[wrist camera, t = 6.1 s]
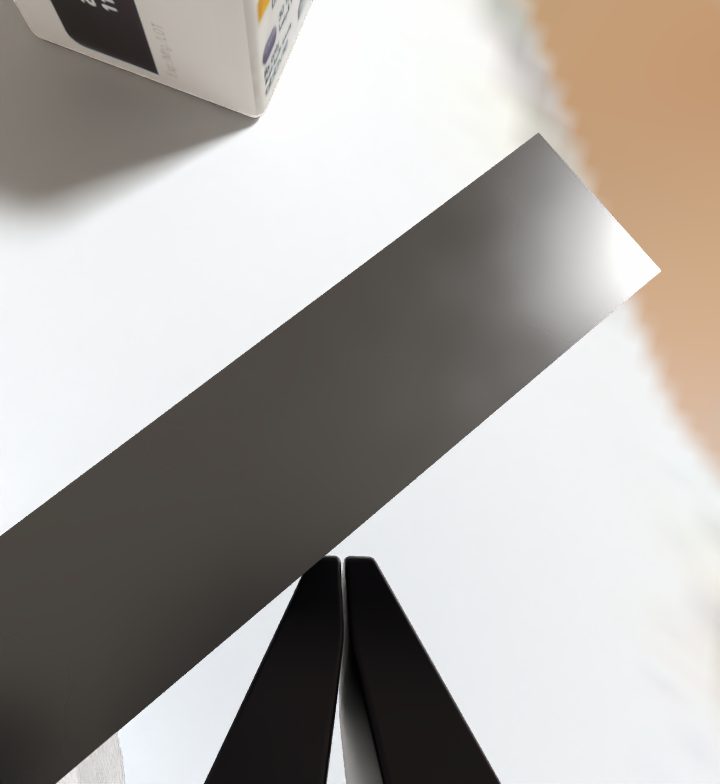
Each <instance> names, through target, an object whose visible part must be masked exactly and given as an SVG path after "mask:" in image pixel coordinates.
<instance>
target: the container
mask: <svg viewBox="0 0 720 784" xmlns="http://www.w3.org/2000/svg"><path fill="white" fill-rule="evenodd" d="M14 2H15V4H16V6H17V7H18V9H19V11H20V13H21V14H22V16H23V18H24V19H25V21H26V23H27V25H28V26H29V28H30V30H31V31H32V32H33V33H34V34H35V35H36V36H38V37H39V38H41V39H44V40H47V41H49V42H52V43H55V44H57V45H60V46H63V47H65V48H68V49H71V50H73V51H76V52H79V53H81V54H84V55H87V56H89V57H92V58H95V59H97V60H100V61H103V62H105V63H108V64H111V65H113V66H116V67H119V68H121V69H124V70H127V71H129V72H132V73H135V74H137V75H140V76H143V77H145V78H148V79H151V80H153V81H156V82H159V83H161V84H164V85H167V86H169V87H172V88H175V89H177V90H180V91H183V92H185V93H188V94H191V95H193V96H196V97H199V98H201V99H204V100H207V101H209V102H212V103H215V104H217V105H220V106H223V107H225V108H228V109H231V110H233V111H236V112H239V113H241V114H244V115H247V116H249V117H255V118H257V117H260V116H262V115H263V114H264V112H265V111H266V109H267V106H268V104H269V102H270V99H271V97H272V95H273V92H274V90H275V88H276V85H277V83H278V81H279V78H280V76H281V74H282V71H283V69H284V67H285V64H286V62H287V60H288V58H289V55H290V53H291V51H292V48H293V46H294V44H295V41H296V39H297V37H298V34H299V32H300V30H301V27H302V25H303V23H304V20H305V18H306V16H307V13H308V11H309V9H310V6H311V4H312V2H313V0H14Z"/></svg>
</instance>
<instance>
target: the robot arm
mask: <svg viewBox="0 0 720 784" xmlns="http://www.w3.org/2000/svg"><path fill="white" fill-rule="evenodd" d="M338 687H339V717H340V729H341V740H342V749H343V758H344V767H345V776H346V784H501V783H500V781H499V779H498V777H497V776H496V774H495V772H494V770H493V769H492V767H491V765H490V763H489V761H488V760H487V758H486V756H485V754H484V753H483V751H482V749H481V747H480V745H479V744H478V742H477V740H476V738H475V737H474V735H473V733H472V731H471V729H470V728H469V726H468V724H467V722H466V721H465V719H464V717H463V715H462V713H461V712H460V710H459V708H458V706H457V705H456V703H455V701H454V699H453V698H452V696H451V694H450V692H449V690H448V689H447V687H446V685H445V683H444V682H443V680H442V678H441V676H440V674H439V673H438V671H437V669H436V667H435V666H434V664H433V662H432V660H431V658H430V657H429V655H428V653H427V651H426V650H425V648H424V646H423V644H422V642H421V641H420V639H419V637H418V635H417V634H416V632H415V630H414V628H413V626H412V625H411V623H410V621H409V619H408V618H407V616H406V614H405V612H404V610H403V609H402V607H401V605H400V603H399V602H398V600H397V598H396V596H395V594H394V593H393V591H392V589H391V587H390V586H389V584H388V582H387V580H386V578H385V577H384V575H383V573H382V571H381V570H380V568H379V566H378V564H377V563H376V561H375V560H374V559H373V558H372V557H365V556H348V557H346V558H345V559H344V563H343V571H342V577H341V561H340V559H339V557H337V556H324V557H323V558H322V559H320V560H319V561H318V562H317V563H316V564H314V565H313V566H312V567H311V568H310V569H309V570H307V571H306V572H305V573H304V574H303V575H302V576H301V579H300V581H299V583H298V585H297V587H296V589H295V591H294V594H293V596H292V598H291V600H290V602H289V604H288V606H287V608H286V611H285V613H284V615H283V617H282V619H281V621H280V623H279V625H278V628H277V630H276V632H275V634H274V636H273V638H272V640H271V642H270V645H269V647H268V649H267V651H266V653H265V655H264V657H263V659H262V662H261V664H260V666H259V668H258V670H257V672H256V674H255V676H254V679H253V681H252V683H251V685H250V687H249V689H248V691H247V693H246V696H245V698H244V700H243V702H242V704H241V706H240V708H239V710H238V713H237V715H236V717H235V719H234V721H233V723H232V725H231V727H230V730H229V732H228V734H227V736H226V738H225V740H224V742H223V744H222V747H221V749H220V751H219V753H218V755H217V757H216V759H215V761H214V764H213V766H212V768H211V770H210V772H209V774H208V776H207V778H206V781H205V783H204V784H327V777H328V769H329V761H330V753H331V745H332V737H333V729H334V720H335V712H336V704H337V695H338Z"/></svg>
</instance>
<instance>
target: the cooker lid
mask: <svg viewBox="0 0 720 784" xmlns="http://www.w3.org/2000/svg"><path fill="white" fill-rule="evenodd" d="M660 271H661V270H660V269H659V268H658V267H657V266H656V265H655V263H654V262H653V261H652V260H651V259H650V258H649V257H648V256H647V254H646V253H645V252H644V251H643V250H642V249H641V248H640V247H639V245H638V244H637V243H636V242H635V241H634V240H633V239H632V237H631V236H630V235H629V234H628V233H627V232H626V231H625V230H624V229H623V228H622V226H621V225H620V224H619V223H618V222H617V221H616V220H615V218H614V217H613V216H612V215H611V214H610V213H609V212H608V210H607V209H606V208H605V207H604V206H603V205H602V204H601V202H600V201H599V200H598V199H597V198H596V197H595V196H594V195H593V193H592V192H591V191H590V190H589V189H588V188H587V187H586V186H585V184H584V183H583V182H582V181H581V180H580V179H579V178H578V177H577V175H576V174H575V173H574V172H573V171H572V170H571V169H570V168H569V166H568V165H567V164H566V163H565V162H564V161H563V160H562V158H561V157H560V156H559V155H558V154H557V153H556V152H555V151H554V149H553V148H552V147H551V146H550V145H549V144H548V143H547V142H546V140H545V139H544V138H543V137H542V136H541V135H540V134H539V133H538V134H536V135H535V136H534V137H532V138H531V139H530V140H528V141H527V142H526V143H524V144H523V145H522V146H520V147H519V148H518V149H516V150H515V151H514V152H512V153H511V154H510V155H508V156H507V157H506V158H504V159H503V160H502V161H500V162H499V163H498V164H496V165H495V166H494V167H492V168H491V169H490V170H488V171H487V172H486V173H484V174H483V175H482V176H480V177H479V178H477V179H476V180H475V181H473V182H472V183H471V184H469V185H468V186H467V187H465V188H464V189H463V190H461V191H460V192H459V193H457V194H456V195H455V196H453V197H452V198H451V199H449V200H448V201H447V202H445V203H444V204H443V205H441V206H440V207H439V208H437V209H436V210H435V211H433V212H432V213H431V214H429V215H428V216H427V217H425V218H424V219H423V220H421V221H420V222H419V223H417V224H416V225H415V226H413V227H412V228H411V229H409V230H408V231H407V232H405V233H404V234H403V235H401V236H400V237H399V238H397V239H396V240H395V241H393V242H392V243H391V244H389V245H388V246H387V247H385V248H384V249H383V250H381V251H380V252H379V253H377V254H376V255H375V256H373V257H372V258H371V259H369V260H368V261H367V262H365V263H364V264H363V265H361V266H360V267H359V268H357V269H356V270H355V271H353V272H352V273H351V274H349V275H348V276H347V277H345V278H344V279H343V280H341V281H340V282H339V283H337V284H336V285H335V286H333V287H332V288H331V289H329V290H328V291H327V292H325V293H324V294H323V295H321V296H320V297H319V298H317V299H316V300H315V301H313V302H312V303H311V304H309V305H308V306H307V307H305V308H304V309H303V310H301V311H300V312H299V313H297V314H296V315H295V316H293V317H292V318H291V319H289V320H288V321H287V322H285V323H284V324H283V325H281V326H280V327H279V328H277V329H276V330H275V331H273V332H272V333H271V334H269V335H268V336H267V337H265V338H264V339H263V340H261V341H260V342H259V343H257V344H256V345H255V346H253V347H252V348H251V349H249V350H248V351H247V352H245V353H244V354H243V355H241V356H240V357H239V358H237V359H236V360H235V361H233V362H232V363H231V364H229V365H228V366H227V367H225V368H224V369H223V370H221V371H220V372H219V373H217V374H216V375H215V376H213V377H212V378H211V379H209V380H208V381H207V382H205V383H204V384H203V385H201V386H200V387H199V388H197V389H196V390H195V391H193V392H192V393H191V394H189V395H188V396H187V397H185V398H184V399H183V400H181V401H180V402H179V403H177V404H176V405H175V406H173V407H172V408H171V409H169V410H168V411H167V412H165V413H164V414H163V415H161V416H160V417H159V418H157V419H156V420H155V421H153V422H152V423H151V424H149V425H148V426H147V427H145V428H144V429H143V430H141V431H140V432H139V433H137V434H136V435H135V436H133V437H132V438H131V439H129V440H128V441H127V442H125V443H124V444H122V445H121V446H120V447H118V448H117V449H116V450H114V451H113V452H112V453H110V454H109V455H108V456H106V457H105V458H104V459H102V460H101V461H100V462H98V463H97V464H96V465H94V466H93V467H92V468H90V469H89V470H88V471H86V472H85V473H84V474H82V475H81V476H80V477H78V478H77V479H76V480H74V481H73V482H72V483H70V484H69V485H68V486H66V487H65V488H64V489H62V490H61V491H60V492H58V493H57V494H56V495H54V496H53V497H52V498H50V499H49V500H48V501H46V502H45V503H44V504H42V505H41V506H40V507H38V508H37V509H36V510H34V511H33V512H32V513H30V514H29V515H28V516H26V517H25V518H24V519H22V520H21V521H20V522H18V523H17V524H16V525H14V526H13V527H12V528H10V529H9V530H8V531H6V532H5V533H4V534H2V535H1V536H0V784H56V783H57V782H58V781H60V780H61V779H62V778H63V777H64V776H66V775H67V774H68V773H69V772H70V771H71V770H73V769H74V768H75V767H76V766H77V765H79V764H80V763H81V762H82V761H83V760H84V759H86V758H87V757H88V756H89V755H90V754H91V753H93V752H94V751H95V750H96V749H97V748H99V747H100V746H101V745H102V744H103V743H104V742H106V741H107V740H108V739H109V738H110V737H112V736H113V735H114V734H115V733H116V732H117V731H119V730H120V729H121V728H122V727H123V726H125V725H126V724H127V723H128V722H129V721H130V720H132V719H133V718H134V717H135V716H136V715H137V714H139V713H140V712H141V711H142V710H143V709H145V708H146V707H147V706H148V705H149V704H150V703H152V702H153V701H154V700H155V699H156V698H158V697H159V696H160V695H161V694H162V693H163V692H165V691H166V690H167V689H168V688H169V687H171V686H172V685H173V684H174V683H175V682H176V681H178V680H179V679H180V678H181V677H182V676H184V675H185V674H186V673H187V672H188V671H189V670H191V669H192V668H193V667H194V666H195V665H196V664H198V663H199V662H200V661H201V660H202V659H204V658H205V657H206V656H207V655H208V654H209V653H211V652H212V651H213V650H214V649H215V648H217V647H218V646H219V645H220V644H221V643H222V642H224V641H225V640H226V639H227V638H228V637H230V636H231V635H232V634H233V633H234V632H235V631H237V630H238V629H239V628H240V627H241V626H242V625H244V624H245V623H246V622H247V621H248V620H250V619H251V618H252V617H253V616H254V615H255V614H257V613H258V612H259V611H260V610H261V609H263V608H264V607H265V606H266V605H267V604H268V603H270V602H271V601H272V600H273V599H274V598H276V597H277V596H278V595H279V594H280V593H281V592H283V591H284V590H285V589H286V588H287V587H288V586H290V585H291V584H292V583H293V582H294V581H296V580H297V579H298V578H299V577H300V576H301V575H303V574H304V573H305V572H306V571H307V570H309V569H310V568H311V567H312V566H313V565H314V564H316V563H317V562H318V561H319V560H320V559H322V558H323V557H324V556H325V555H326V554H327V553H329V552H330V551H331V550H332V549H333V548H334V547H336V546H337V545H338V544H339V543H340V542H342V541H343V540H344V539H345V538H346V537H347V536H349V535H350V534H351V533H352V532H353V531H355V530H356V529H357V528H358V527H359V526H360V525H362V524H363V523H364V522H365V521H366V520H368V519H369V518H370V517H371V516H372V515H373V514H375V513H376V512H377V511H378V510H379V509H381V508H382V507H383V506H384V505H385V504H386V503H388V502H389V501H390V500H391V499H392V498H393V497H395V496H396V495H397V494H398V493H399V492H401V491H402V490H403V489H404V488H405V487H406V486H408V485H409V484H410V483H411V482H412V481H414V480H415V479H416V478H417V477H418V476H419V475H421V474H422V473H423V472H424V471H425V470H427V469H428V468H429V467H430V466H431V465H432V464H434V463H435V462H436V461H437V460H438V459H439V458H441V457H442V456H443V455H444V454H445V453H447V452H448V451H449V450H450V449H451V448H452V447H454V446H455V445H456V444H457V443H458V442H460V441H461V440H462V439H463V438H464V437H465V436H467V435H468V434H469V433H470V432H471V431H473V430H474V429H475V428H476V427H477V426H478V425H480V424H481V423H482V422H483V421H484V420H485V419H487V418H488V417H489V416H490V415H491V414H493V413H494V412H495V411H496V410H497V409H498V408H500V407H501V406H502V405H503V404H504V403H506V402H507V401H508V400H509V399H510V398H511V397H513V396H514V395H515V394H516V393H517V392H519V391H520V390H521V389H522V388H523V387H524V386H526V385H527V384H528V383H529V382H530V381H532V380H533V379H534V378H535V377H536V376H537V375H539V374H540V373H541V372H542V371H543V370H544V369H546V368H547V367H548V366H549V365H550V364H552V363H553V362H554V361H555V360H556V359H557V358H559V357H560V356H561V355H562V354H563V353H565V352H566V351H567V350H568V349H569V348H570V347H572V346H573V345H574V344H575V343H576V342H578V341H579V340H580V339H581V338H582V337H583V336H585V335H586V334H587V333H588V332H589V331H590V330H592V329H593V328H594V327H595V326H596V325H598V324H599V323H600V322H601V321H602V320H603V319H605V318H606V317H607V316H608V315H609V314H611V313H612V312H613V311H614V310H615V309H616V308H618V307H619V306H620V305H621V304H622V303H624V302H625V301H626V300H627V299H628V298H629V297H631V296H632V295H633V294H634V293H635V292H636V291H638V290H639V289H640V288H641V287H642V286H644V285H645V284H646V283H647V282H648V281H649V280H651V279H652V278H653V277H654V276H655V275H657V274H658V273H659V272H660Z"/></svg>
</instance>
